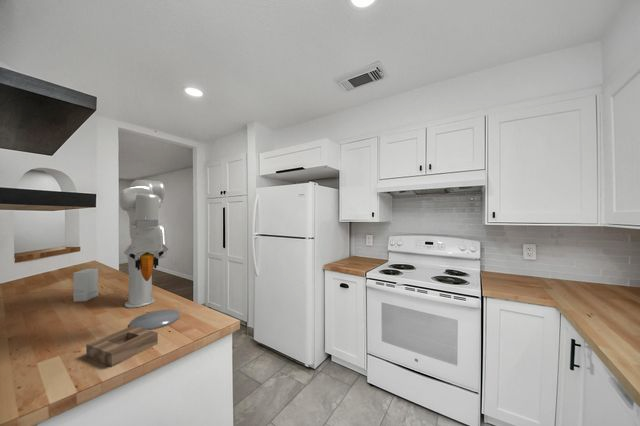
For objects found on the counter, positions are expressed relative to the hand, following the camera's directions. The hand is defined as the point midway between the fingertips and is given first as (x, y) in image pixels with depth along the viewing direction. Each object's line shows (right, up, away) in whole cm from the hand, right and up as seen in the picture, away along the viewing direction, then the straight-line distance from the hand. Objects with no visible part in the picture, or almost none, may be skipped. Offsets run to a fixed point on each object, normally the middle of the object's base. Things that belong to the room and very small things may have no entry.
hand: (147, 268), depth 98 cm
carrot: (0, -6, 0) cm, 6 cm away
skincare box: (-57, -24, +32) cm, 70 cm away
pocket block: (+3, -25, -15) cm, 29 cm away
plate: (-1, -25, +7) cm, 25 cm away
